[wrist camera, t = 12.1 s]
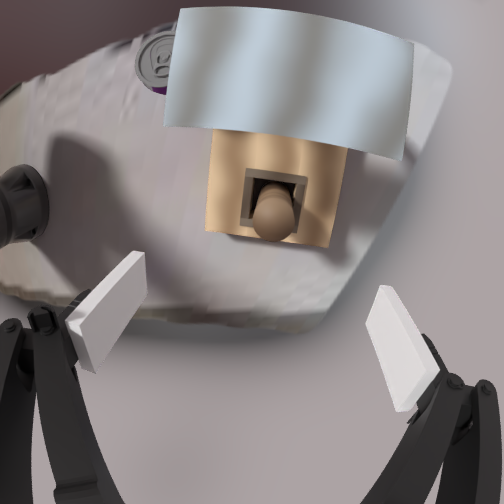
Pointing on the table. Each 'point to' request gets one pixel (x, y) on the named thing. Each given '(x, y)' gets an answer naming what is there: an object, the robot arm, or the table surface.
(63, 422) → the robot arm
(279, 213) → the peg
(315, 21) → the socket station
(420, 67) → the table surface
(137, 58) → the beverage can
